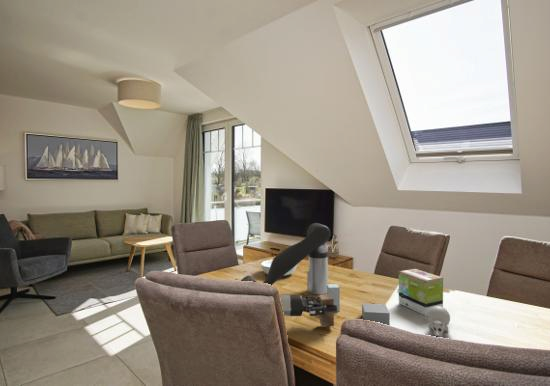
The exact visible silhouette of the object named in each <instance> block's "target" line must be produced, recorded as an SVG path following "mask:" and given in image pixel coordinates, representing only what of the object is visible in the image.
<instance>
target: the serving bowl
mask: <svg viewBox="0 0 550 386" xmlns="http://www.w3.org/2000/svg"><path fill="white" fill-rule="evenodd" d="M273 259H274V258H273ZM273 259H267V260H264V261H262V262H261V264H260V266H261V270H262V271H263V272H264V273H265V274H266V275H268V272H269V269H270V266H271V263H272V261H273ZM297 267H298V264H297V265H296V266H295V267H294V268H292V269H291V270H290V271H289V272H287V273H286V274H285V275H284V276H283V277H285V276H289V275H291V274H293V273H294V272H296V269H297Z"/></svg>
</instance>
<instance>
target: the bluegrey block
mask: <svg viewBox="0 0 550 386" xmlns="http://www.w3.org/2000/svg"><path fill="white" fill-rule="evenodd" d="M340 288H341V287H340V286H339V284H338V283H334V284H333V283H328V284H327V293H326V294H332V297H333V299H334V305H336V306H337V311H336V312H340V310H341V309H340V306H341V305H340V304H341V303H340V299H341V298H340V297H341V295H340V294H341V292H340Z"/></svg>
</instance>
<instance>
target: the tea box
mask: <svg viewBox="0 0 550 386" xmlns="http://www.w3.org/2000/svg"><path fill="white" fill-rule="evenodd" d="M398 289H399V293H398V304H400V305H402V306H404V307H407V308H408V309H411V310H413V311H415V312H417V313H419V314H421V315H422V314H423V316H424V317H428V311H429V309H430V308H432V307H433V306H441V307H443V308H444V277H442V276H440V275H437V274H433V273H429V272H427V271H423V270H422V269H421V270H420V269H419V268H418V269H417V268H412V269H411V268H410V269H407V270H406V269H405V270H400V271H398Z"/></svg>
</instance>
